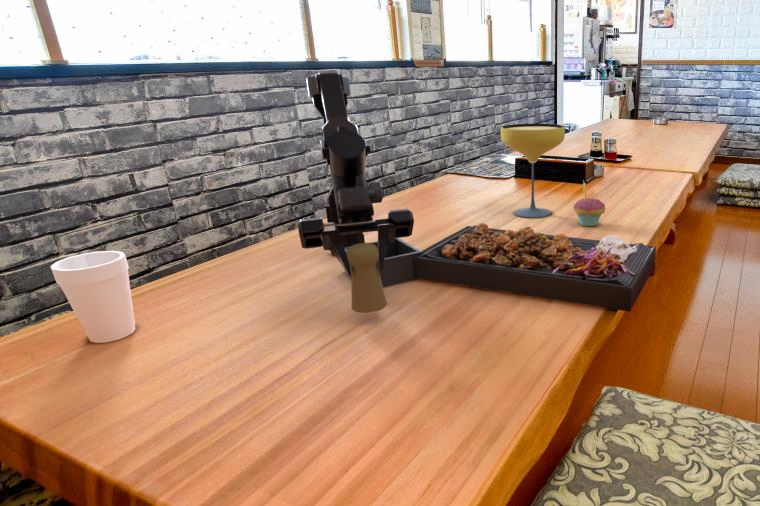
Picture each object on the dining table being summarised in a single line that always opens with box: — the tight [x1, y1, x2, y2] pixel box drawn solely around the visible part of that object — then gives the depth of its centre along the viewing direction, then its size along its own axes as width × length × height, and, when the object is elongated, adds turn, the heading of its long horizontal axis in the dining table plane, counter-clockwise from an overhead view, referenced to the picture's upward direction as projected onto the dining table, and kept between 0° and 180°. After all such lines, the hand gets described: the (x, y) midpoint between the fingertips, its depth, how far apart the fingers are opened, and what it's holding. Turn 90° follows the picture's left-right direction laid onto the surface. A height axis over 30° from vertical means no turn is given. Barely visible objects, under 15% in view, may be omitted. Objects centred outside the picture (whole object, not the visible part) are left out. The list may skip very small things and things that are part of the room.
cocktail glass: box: [500, 123, 566, 219], centre depth 153 cm, size 18×18×25 cm
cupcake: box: [573, 179, 606, 227], centre depth 144 cm, size 9×8×12 cm
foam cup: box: [50, 250, 136, 344], centre depth 86 cm, size 10×9×13 cm
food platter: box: [412, 222, 657, 313], centre depth 109 cm, size 45×25×10 cm, turn 66°
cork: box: [347, 242, 388, 314], centre depth 89 cm, size 6×6×11 cm
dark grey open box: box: [344, 238, 423, 288], centre depth 111 cm, size 13×13×6 cm
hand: (365, 272), depth 88 cm, fingers closed on cork, 5 cm apart
